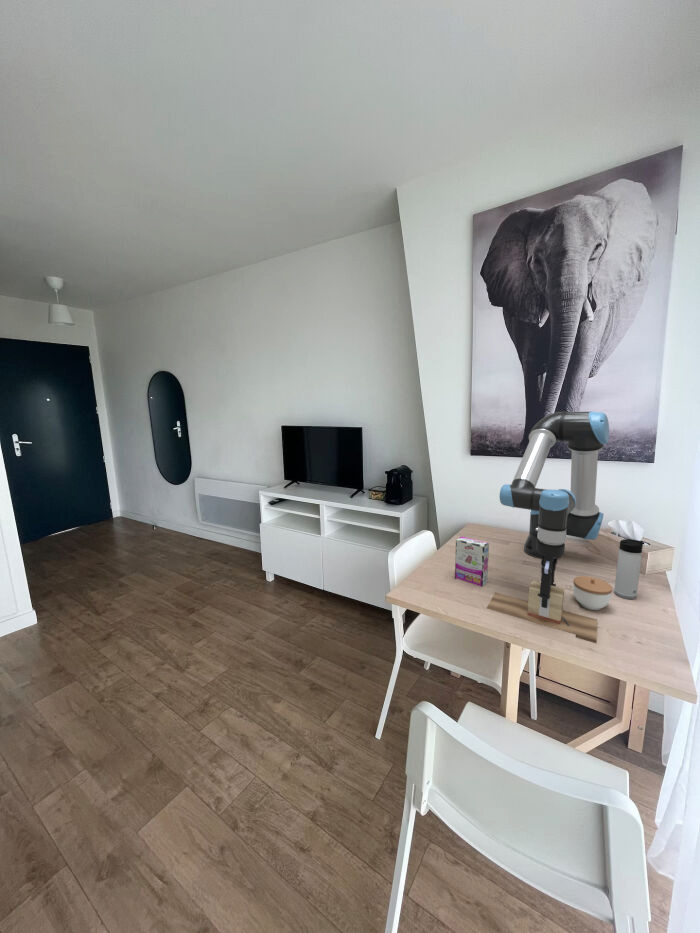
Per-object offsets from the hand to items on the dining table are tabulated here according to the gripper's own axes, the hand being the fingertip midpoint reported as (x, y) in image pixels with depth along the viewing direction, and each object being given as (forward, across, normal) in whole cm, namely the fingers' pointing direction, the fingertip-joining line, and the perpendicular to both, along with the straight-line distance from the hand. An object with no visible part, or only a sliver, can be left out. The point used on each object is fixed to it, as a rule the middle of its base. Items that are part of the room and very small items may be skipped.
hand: (545, 610), depth 114 cm
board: (+2, 0, -1) cm, 3 cm away
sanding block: (+2, 0, 0) cm, 2 cm away
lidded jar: (+3, -16, +12) cm, 20 cm away
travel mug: (+3, -30, +21) cm, 37 cm away
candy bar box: (+3, -11, -26) cm, 29 cm away
